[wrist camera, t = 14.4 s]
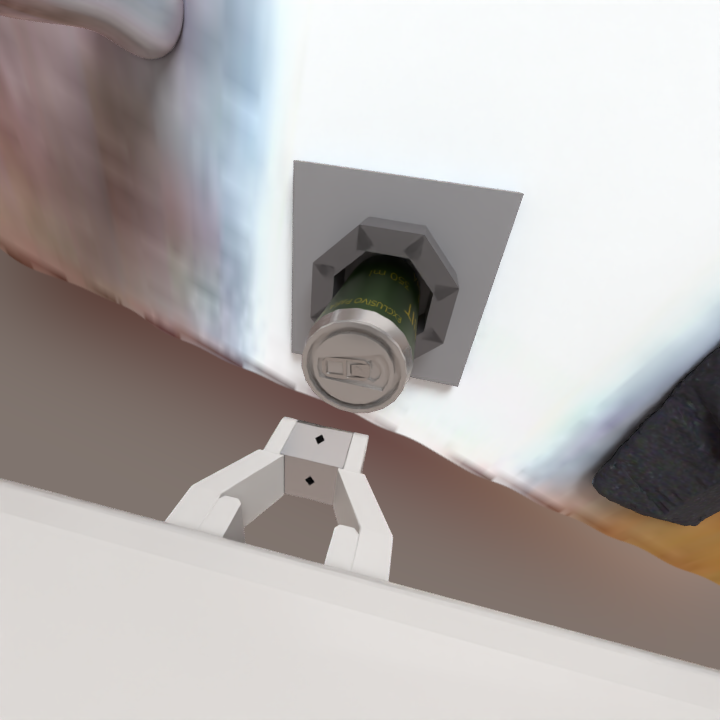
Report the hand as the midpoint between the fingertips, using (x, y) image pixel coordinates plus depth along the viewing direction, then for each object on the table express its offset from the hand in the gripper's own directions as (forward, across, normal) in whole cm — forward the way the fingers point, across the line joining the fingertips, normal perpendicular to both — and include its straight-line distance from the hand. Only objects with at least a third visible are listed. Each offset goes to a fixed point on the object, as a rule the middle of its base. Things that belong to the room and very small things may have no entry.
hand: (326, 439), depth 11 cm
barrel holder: (+18, 0, 0) cm, 18 cm away
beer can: (+17, 0, 0) cm, 17 cm away
